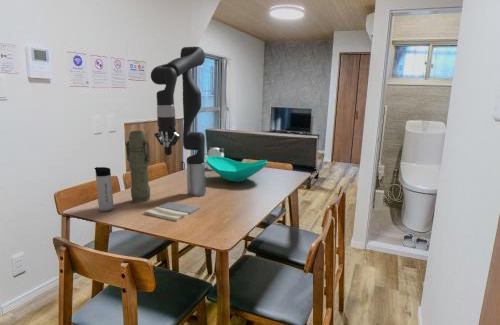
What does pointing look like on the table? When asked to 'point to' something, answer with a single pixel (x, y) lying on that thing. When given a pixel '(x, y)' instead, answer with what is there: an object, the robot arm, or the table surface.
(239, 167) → the table top decor
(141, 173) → the olive green canister
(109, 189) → the travel mug
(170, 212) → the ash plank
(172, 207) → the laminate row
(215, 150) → the panda figurine
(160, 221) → the table surface
